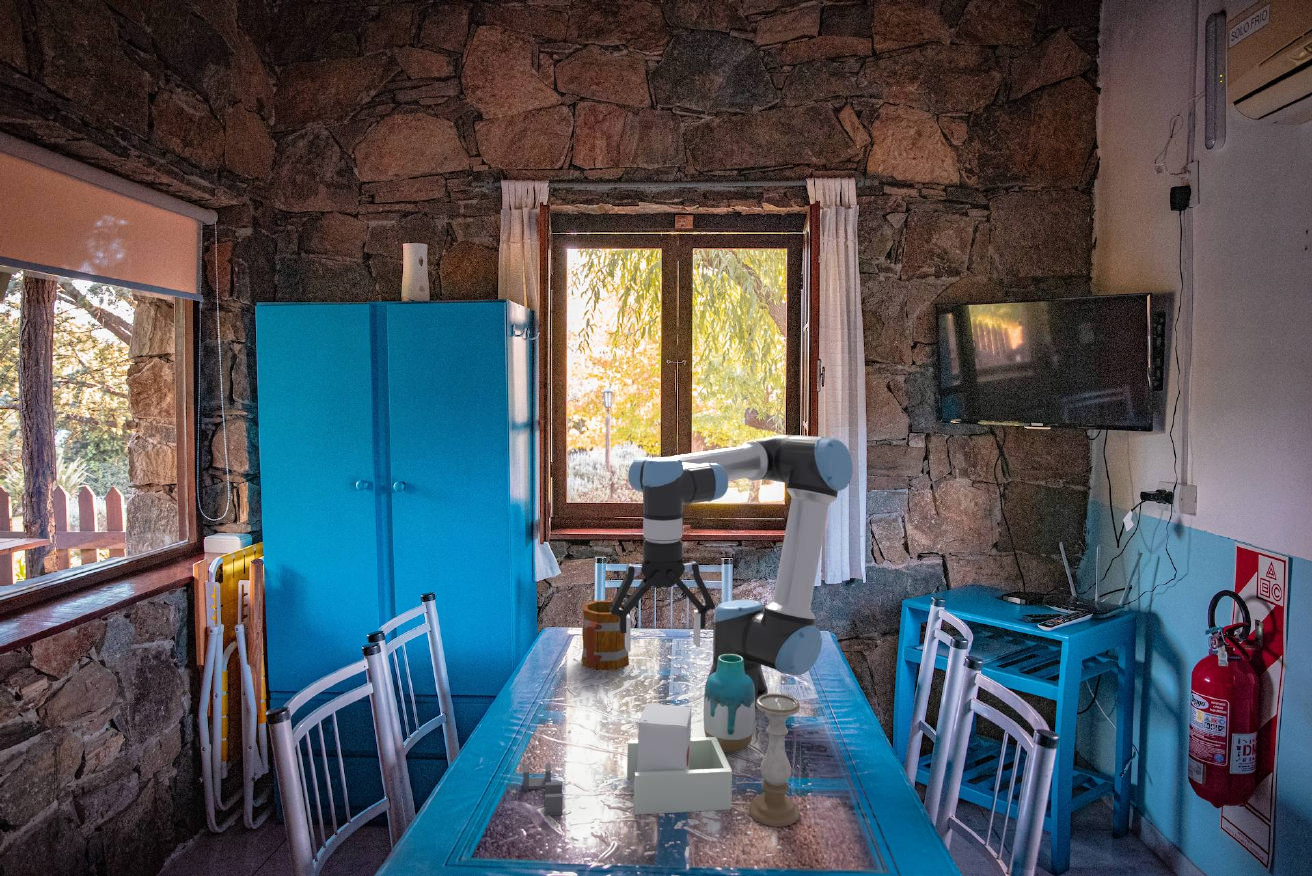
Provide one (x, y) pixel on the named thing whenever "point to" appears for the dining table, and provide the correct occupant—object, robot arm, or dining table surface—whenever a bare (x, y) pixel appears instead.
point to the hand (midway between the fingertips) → (662, 646)
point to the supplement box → (664, 738)
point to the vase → (730, 704)
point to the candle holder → (775, 765)
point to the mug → (602, 638)
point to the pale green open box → (683, 781)
